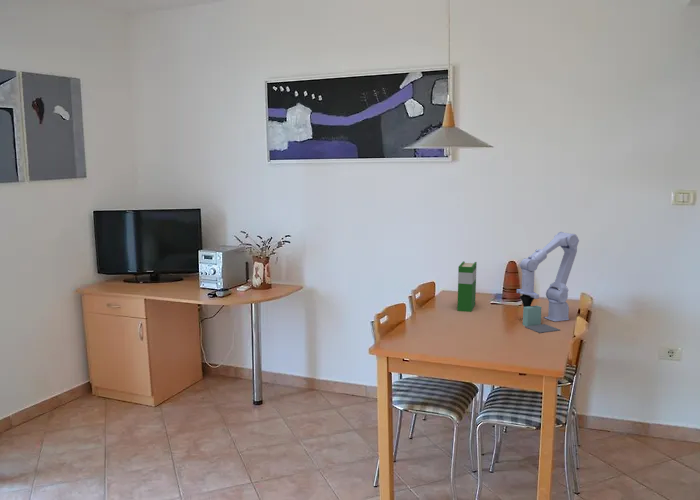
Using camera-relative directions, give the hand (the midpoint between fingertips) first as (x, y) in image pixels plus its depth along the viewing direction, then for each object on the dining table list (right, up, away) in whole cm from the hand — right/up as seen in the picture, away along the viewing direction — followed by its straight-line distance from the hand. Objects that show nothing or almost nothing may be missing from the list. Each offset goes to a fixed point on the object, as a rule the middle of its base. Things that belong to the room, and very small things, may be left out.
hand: (526, 310), depth 299 cm
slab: (+2, -7, -3) cm, 8 cm away
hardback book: (-24, -2, +32) cm, 40 cm away
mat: (+5, -8, -10) cm, 14 cm away
